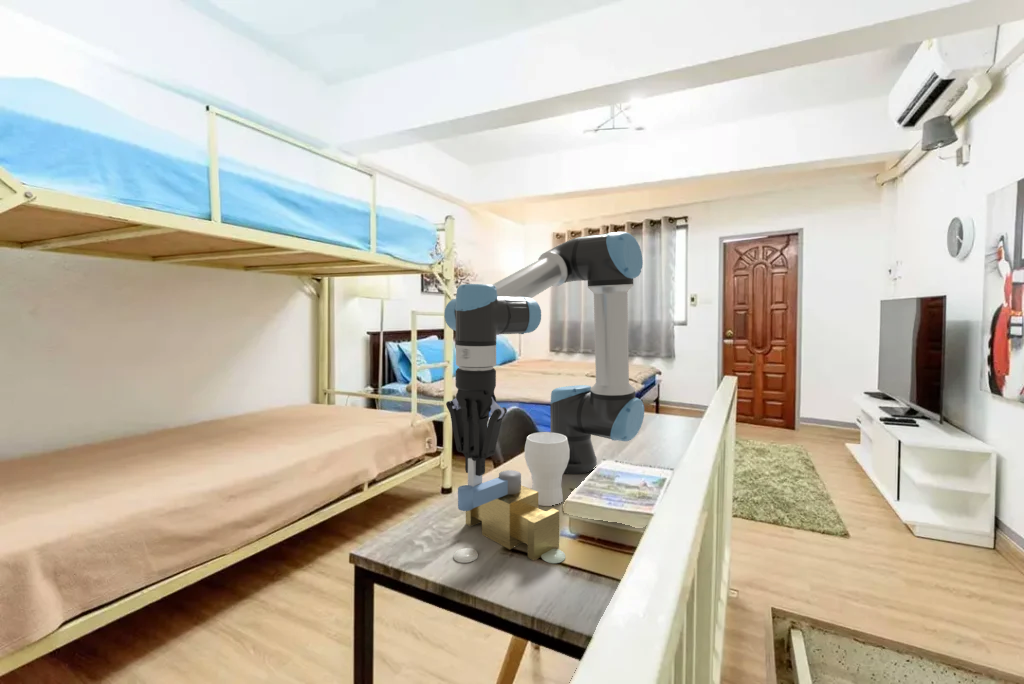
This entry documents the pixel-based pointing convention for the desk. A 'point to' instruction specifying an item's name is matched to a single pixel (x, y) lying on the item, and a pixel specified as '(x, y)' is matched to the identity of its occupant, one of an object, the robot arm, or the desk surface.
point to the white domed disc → (465, 555)
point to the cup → (547, 465)
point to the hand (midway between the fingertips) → (475, 490)
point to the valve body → (518, 522)
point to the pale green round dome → (553, 556)
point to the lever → (489, 490)
